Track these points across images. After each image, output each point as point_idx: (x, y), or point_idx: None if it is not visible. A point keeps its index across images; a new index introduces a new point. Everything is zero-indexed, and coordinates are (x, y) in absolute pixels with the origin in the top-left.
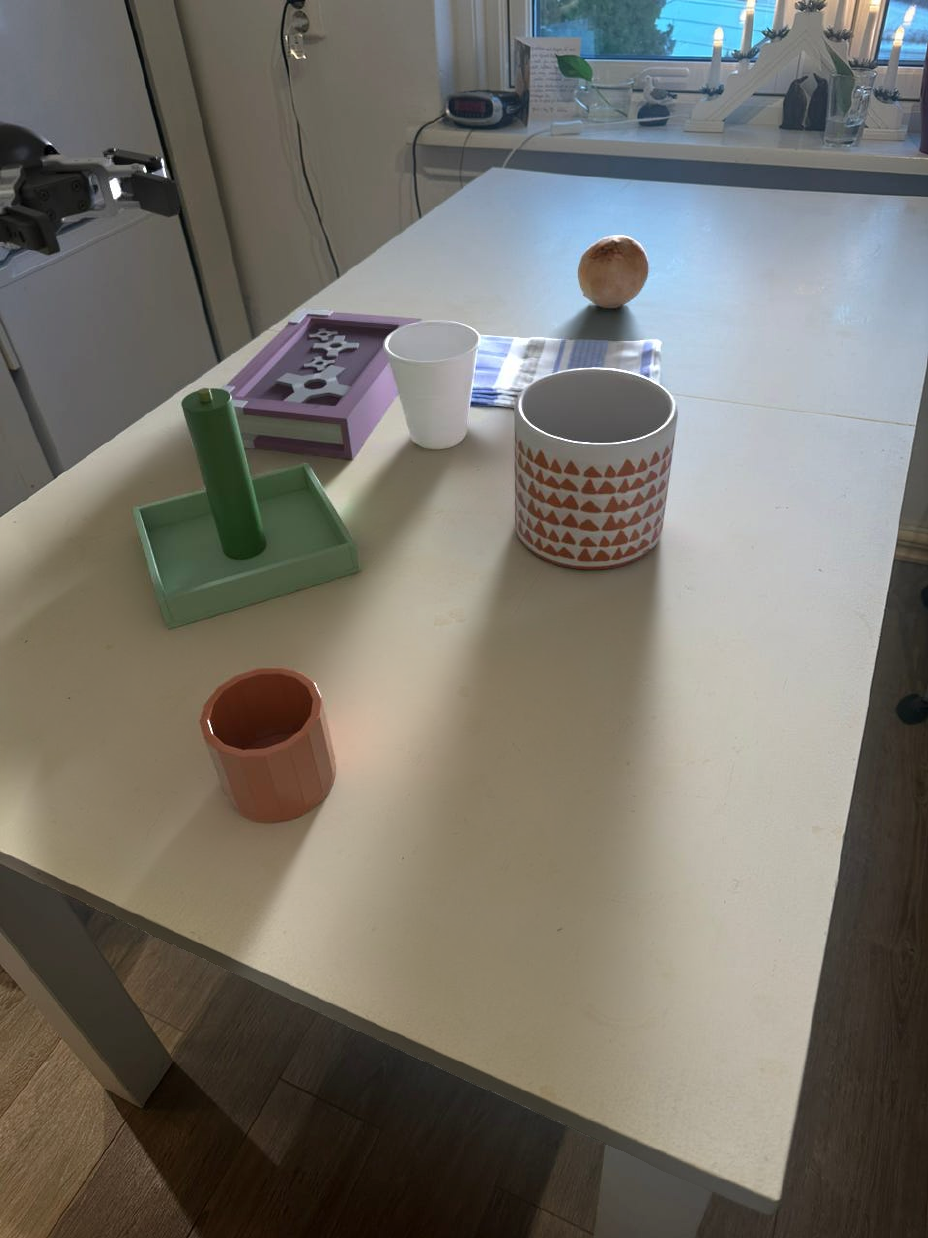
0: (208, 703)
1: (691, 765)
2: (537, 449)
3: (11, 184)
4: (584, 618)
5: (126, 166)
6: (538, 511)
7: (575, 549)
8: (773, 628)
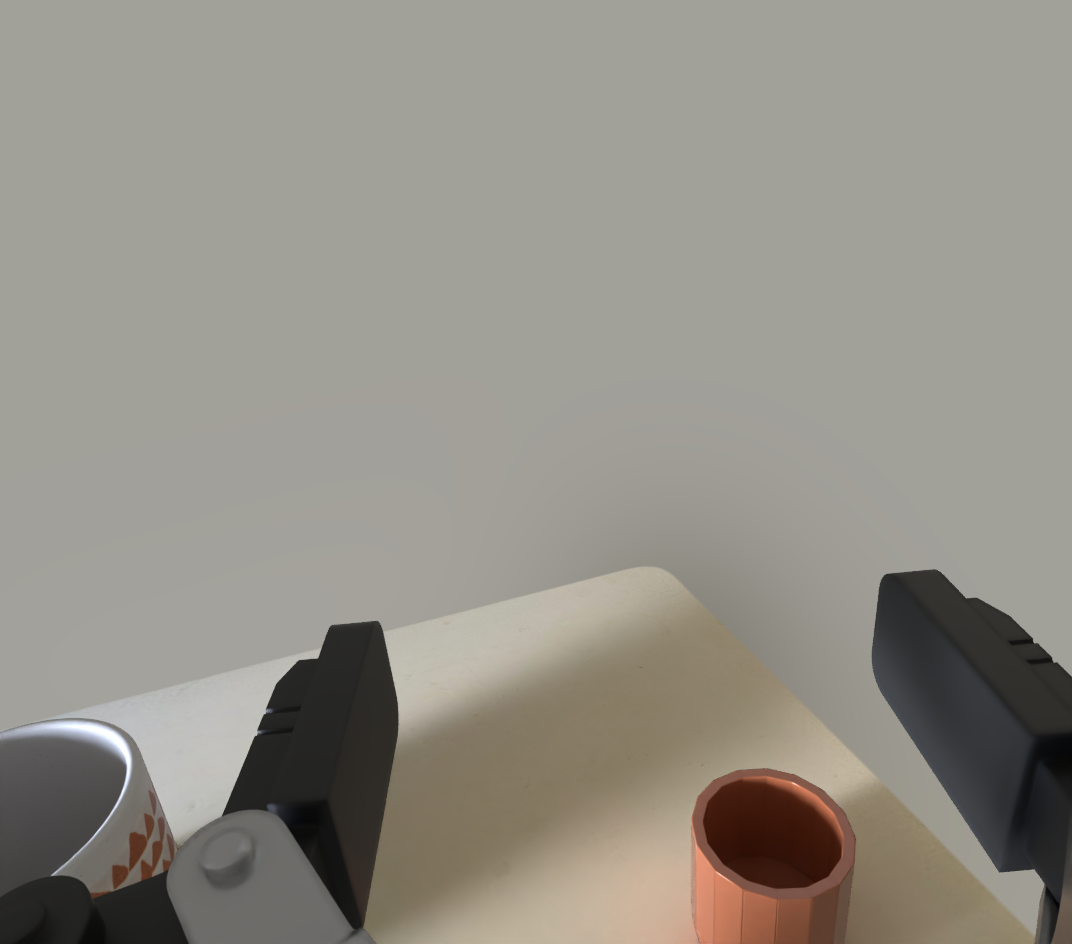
0: (833, 880)
1: (445, 687)
2: (126, 842)
3: None
4: None
5: (235, 915)
6: None
7: None
8: (232, 724)
